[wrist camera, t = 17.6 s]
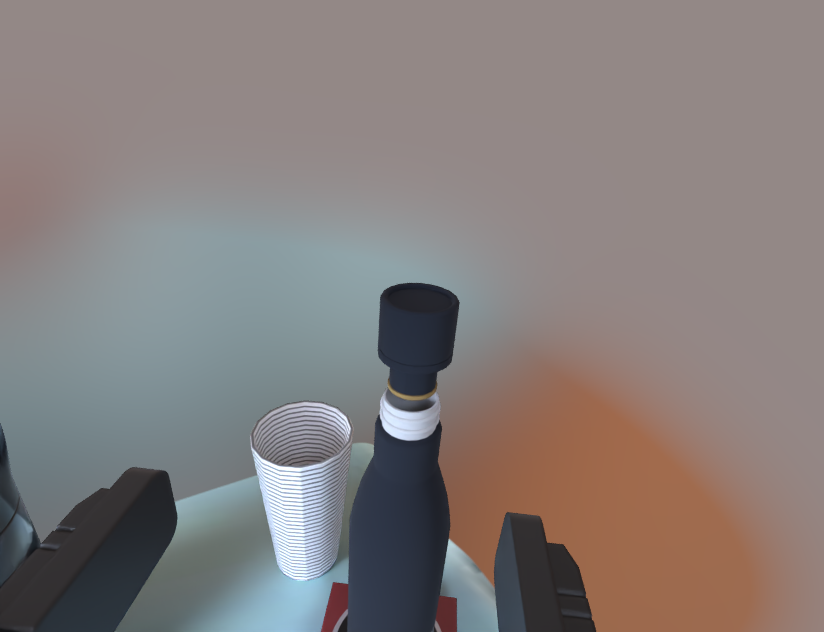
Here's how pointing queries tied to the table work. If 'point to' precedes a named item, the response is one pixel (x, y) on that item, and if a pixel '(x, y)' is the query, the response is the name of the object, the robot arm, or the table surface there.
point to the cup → (303, 483)
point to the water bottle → (404, 471)
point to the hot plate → (338, 612)
